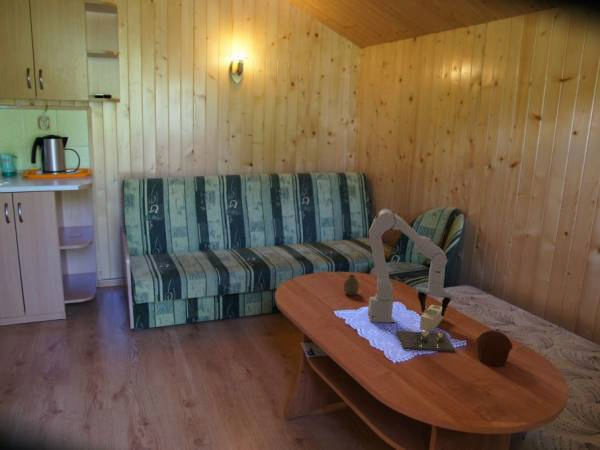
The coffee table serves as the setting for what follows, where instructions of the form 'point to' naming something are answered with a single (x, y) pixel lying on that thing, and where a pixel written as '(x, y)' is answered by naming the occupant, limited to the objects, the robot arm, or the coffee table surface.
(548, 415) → the coffee table surface
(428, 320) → the block with holes
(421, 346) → the flange base
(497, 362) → the muffin
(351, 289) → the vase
